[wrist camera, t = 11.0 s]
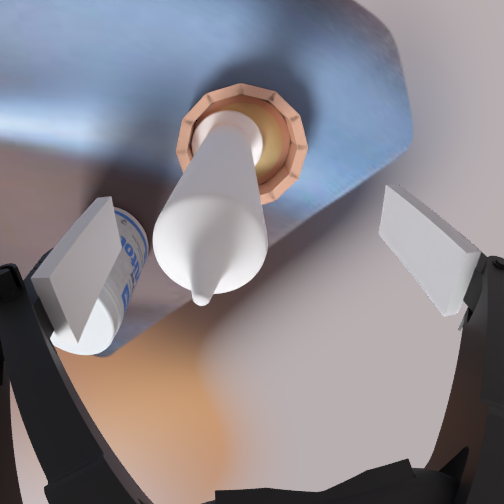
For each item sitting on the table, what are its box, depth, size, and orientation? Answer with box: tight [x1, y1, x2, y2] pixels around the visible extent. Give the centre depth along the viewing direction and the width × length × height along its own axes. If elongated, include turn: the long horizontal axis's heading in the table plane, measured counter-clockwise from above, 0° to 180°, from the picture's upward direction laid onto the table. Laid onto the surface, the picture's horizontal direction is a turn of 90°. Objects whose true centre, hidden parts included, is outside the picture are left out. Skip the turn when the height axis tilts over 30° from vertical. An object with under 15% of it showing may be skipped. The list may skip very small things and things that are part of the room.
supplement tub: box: [50, 207, 148, 355], centre depth 30 cm, size 10×10×15 cm
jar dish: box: [176, 83, 308, 204], centre depth 30 cm, size 12×12×4 cm
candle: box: [153, 110, 268, 306], centre depth 20 cm, size 7×7×25 cm
